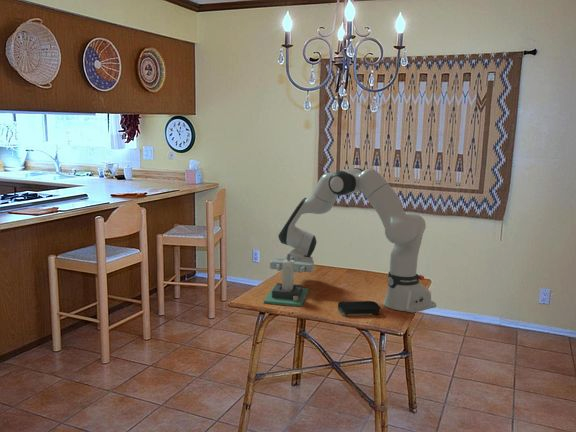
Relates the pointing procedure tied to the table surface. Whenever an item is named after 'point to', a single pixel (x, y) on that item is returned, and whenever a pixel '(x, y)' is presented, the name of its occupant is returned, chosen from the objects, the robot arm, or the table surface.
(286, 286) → the plug
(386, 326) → the table surface
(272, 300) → the board
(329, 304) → the table surface
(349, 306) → the black scrub brush
